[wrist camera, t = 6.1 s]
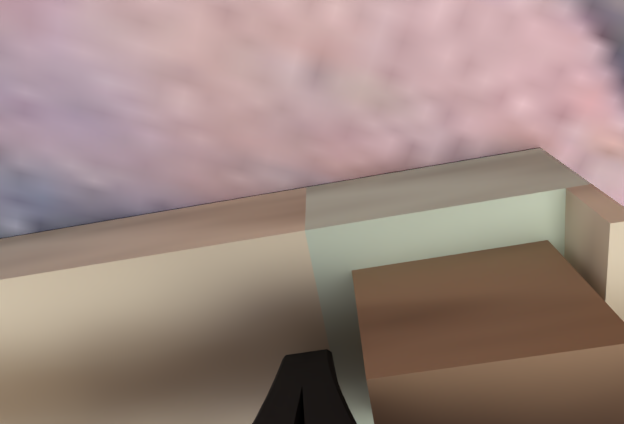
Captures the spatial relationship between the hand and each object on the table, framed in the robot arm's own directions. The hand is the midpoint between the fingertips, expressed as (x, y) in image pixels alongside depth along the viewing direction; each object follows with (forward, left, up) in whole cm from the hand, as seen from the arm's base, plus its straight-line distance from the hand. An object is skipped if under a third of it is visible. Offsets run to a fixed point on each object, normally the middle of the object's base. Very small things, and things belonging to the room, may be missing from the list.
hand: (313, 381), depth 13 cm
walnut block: (0, -4, -1) cm, 4 cm away
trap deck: (-4, +1, -4) cm, 6 cm away
